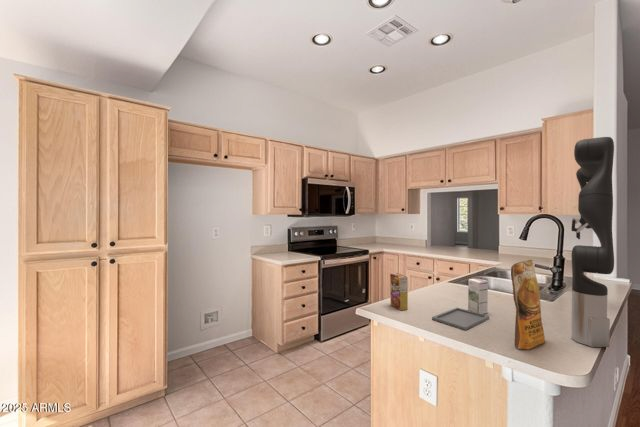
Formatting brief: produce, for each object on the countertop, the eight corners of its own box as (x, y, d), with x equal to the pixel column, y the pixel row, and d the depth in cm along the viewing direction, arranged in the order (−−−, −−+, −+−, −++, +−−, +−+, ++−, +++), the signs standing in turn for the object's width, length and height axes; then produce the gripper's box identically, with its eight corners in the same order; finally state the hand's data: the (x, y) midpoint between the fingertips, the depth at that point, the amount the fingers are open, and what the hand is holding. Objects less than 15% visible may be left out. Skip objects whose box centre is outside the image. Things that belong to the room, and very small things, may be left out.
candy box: (389, 304, 145) (389, 273, 144) (397, 304, 146) (397, 272, 146) (399, 310, 136) (399, 277, 136) (408, 309, 137) (408, 276, 137)
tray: (456, 310, 137) (456, 307, 137) (489, 318, 126) (489, 316, 126) (432, 319, 125) (432, 316, 125) (465, 330, 114) (465, 327, 114)
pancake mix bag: (502, 345, 102) (502, 262, 101) (530, 333, 111) (531, 258, 111) (523, 353, 96) (524, 266, 95) (551, 340, 106) (552, 260, 105)
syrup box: (488, 313, 133) (488, 280, 133) (478, 314, 131) (478, 281, 131) (477, 309, 138) (477, 277, 138) (467, 310, 136) (467, 278, 136)
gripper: (571, 210, 144) (571, 241, 149) (612, 211, 134) (611, 243, 139) (571, 205, 149) (572, 235, 154) (611, 205, 140) (610, 237, 144)
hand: (590, 239), depth 146 cm, fingers open, 8 cm apart
